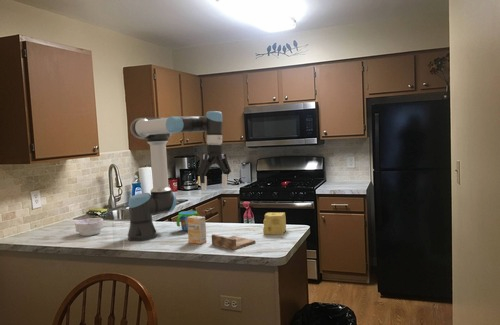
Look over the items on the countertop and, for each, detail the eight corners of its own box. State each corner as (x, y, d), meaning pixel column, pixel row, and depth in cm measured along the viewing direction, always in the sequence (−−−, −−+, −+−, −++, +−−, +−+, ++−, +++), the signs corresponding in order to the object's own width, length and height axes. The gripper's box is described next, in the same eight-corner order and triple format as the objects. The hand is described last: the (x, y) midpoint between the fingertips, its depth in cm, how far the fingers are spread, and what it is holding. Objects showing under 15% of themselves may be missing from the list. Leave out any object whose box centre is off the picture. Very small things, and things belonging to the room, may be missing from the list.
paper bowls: (94, 237, 223) (93, 223, 223) (70, 237, 226) (69, 223, 226) (109, 230, 238) (108, 217, 238) (86, 230, 241) (85, 217, 241)
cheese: (263, 234, 208) (262, 215, 207) (268, 229, 218) (267, 211, 218) (282, 235, 205) (281, 215, 204) (287, 230, 215) (286, 211, 215)
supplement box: (188, 243, 200) (186, 217, 199) (194, 240, 204) (192, 215, 203) (200, 244, 195) (199, 218, 194) (207, 242, 199) (205, 216, 198)
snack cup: (194, 226, 238) (193, 209, 237) (205, 228, 230) (204, 210, 230) (172, 231, 227) (170, 213, 226) (182, 234, 219) (181, 215, 219)
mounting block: (212, 244, 194) (211, 234, 194) (233, 238, 204) (232, 229, 204) (234, 249, 183) (233, 239, 183) (255, 242, 193) (254, 233, 192)
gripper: (200, 144, 177) (200, 192, 178) (238, 144, 196) (238, 187, 197) (189, 144, 182) (189, 190, 183) (227, 143, 201) (227, 185, 202)
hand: (214, 188), depth 190 cm, fingers open, 13 cm apart
